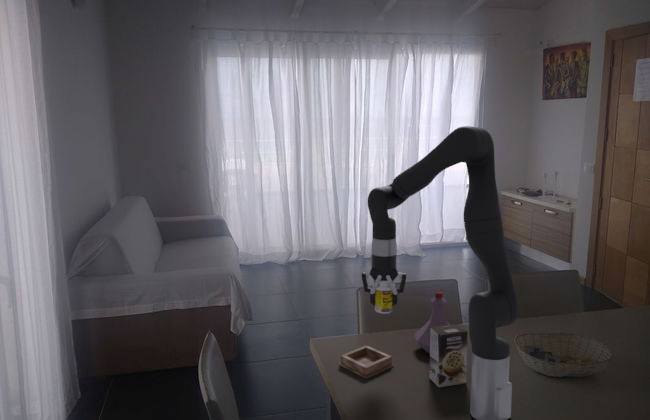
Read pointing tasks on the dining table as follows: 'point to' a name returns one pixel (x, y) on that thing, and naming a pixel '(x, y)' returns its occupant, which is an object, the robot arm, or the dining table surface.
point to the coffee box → (448, 355)
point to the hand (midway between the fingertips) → (383, 304)
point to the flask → (432, 321)
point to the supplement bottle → (383, 298)
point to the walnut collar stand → (366, 361)
